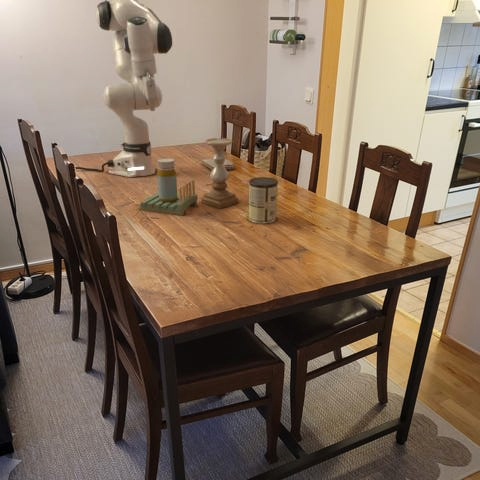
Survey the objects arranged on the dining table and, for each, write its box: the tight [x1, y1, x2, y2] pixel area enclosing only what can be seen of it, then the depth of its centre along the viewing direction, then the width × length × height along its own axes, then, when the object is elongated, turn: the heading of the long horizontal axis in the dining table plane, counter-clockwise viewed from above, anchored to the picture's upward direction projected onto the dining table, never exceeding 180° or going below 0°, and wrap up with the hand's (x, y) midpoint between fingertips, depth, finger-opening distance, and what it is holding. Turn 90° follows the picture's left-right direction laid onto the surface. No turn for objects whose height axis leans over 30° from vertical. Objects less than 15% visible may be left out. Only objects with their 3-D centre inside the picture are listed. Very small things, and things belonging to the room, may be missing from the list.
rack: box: [139, 179, 198, 216], centre depth 185 cm, size 18×14×10 cm
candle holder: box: [200, 137, 239, 209], centre depth 188 cm, size 11×11×24 cm
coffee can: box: [248, 176, 279, 225], centre depth 174 cm, size 10×10×14 cm
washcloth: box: [200, 158, 235, 171], centre depth 242 cm, size 12×18×3 cm, turn 26°
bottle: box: [156, 157, 178, 202], centre depth 182 cm, size 7×7×15 cm
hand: (150, 107), depth 188 cm, fingers open, 8 cm apart
